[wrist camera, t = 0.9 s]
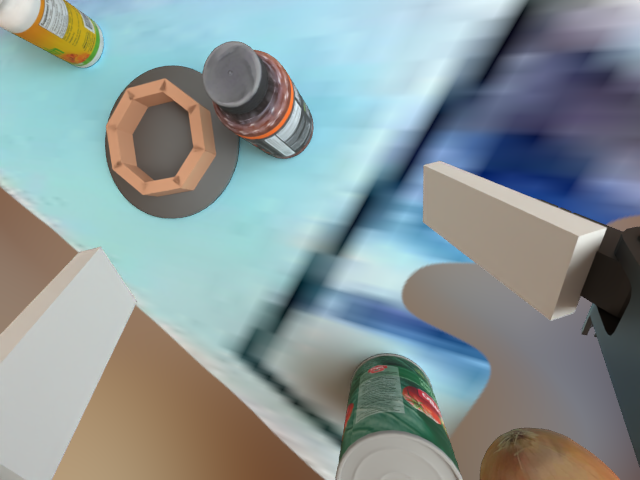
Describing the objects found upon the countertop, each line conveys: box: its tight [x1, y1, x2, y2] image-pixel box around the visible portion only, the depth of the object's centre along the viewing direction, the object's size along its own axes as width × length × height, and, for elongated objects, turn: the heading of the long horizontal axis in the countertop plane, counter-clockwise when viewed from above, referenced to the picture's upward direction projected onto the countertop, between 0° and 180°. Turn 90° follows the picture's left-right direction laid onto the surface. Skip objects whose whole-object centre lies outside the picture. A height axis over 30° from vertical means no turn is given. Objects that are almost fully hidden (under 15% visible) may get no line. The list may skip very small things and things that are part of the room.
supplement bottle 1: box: [0, 0, 104, 68], centre depth 28 cm, size 5×5×10 cm
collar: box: [106, 78, 216, 197], centre depth 30 cm, size 11×11×2 cm
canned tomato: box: [336, 354, 463, 480], centre depth 23 cm, size 8×8×11 cm
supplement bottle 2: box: [203, 41, 313, 158], centre depth 23 cm, size 6×6×11 cm
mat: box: [105, 66, 239, 218], centre depth 31 cm, size 16×16×1 cm
